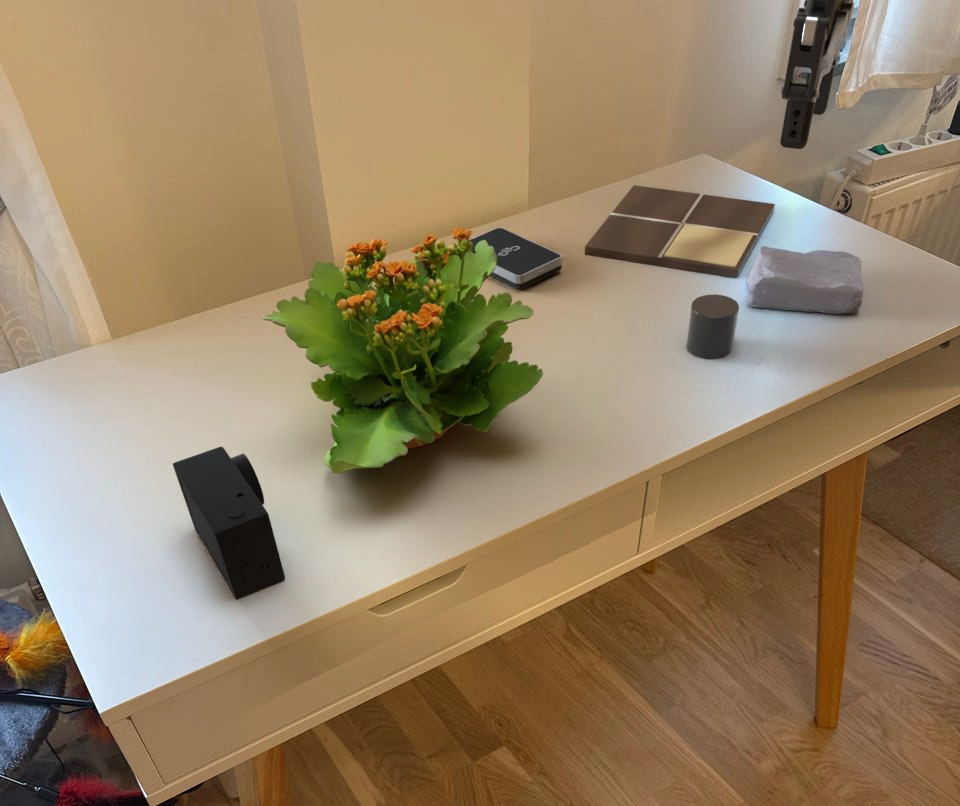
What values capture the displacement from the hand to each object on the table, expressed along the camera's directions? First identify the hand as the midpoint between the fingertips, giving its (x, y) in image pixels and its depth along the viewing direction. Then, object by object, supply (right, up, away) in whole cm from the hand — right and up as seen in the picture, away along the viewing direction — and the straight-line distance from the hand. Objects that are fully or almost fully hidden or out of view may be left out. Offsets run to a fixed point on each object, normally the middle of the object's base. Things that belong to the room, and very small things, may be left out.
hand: (803, 129), depth 86 cm
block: (+6, -8, +19) cm, 21 cm away
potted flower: (-36, -24, +6) cm, 44 cm away
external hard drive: (-25, -3, +26) cm, 36 cm away
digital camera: (-48, -39, -6) cm, 62 cm away
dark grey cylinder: (-6, -16, +12) cm, 21 cm away
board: (-5, +3, +29) cm, 30 cm away
